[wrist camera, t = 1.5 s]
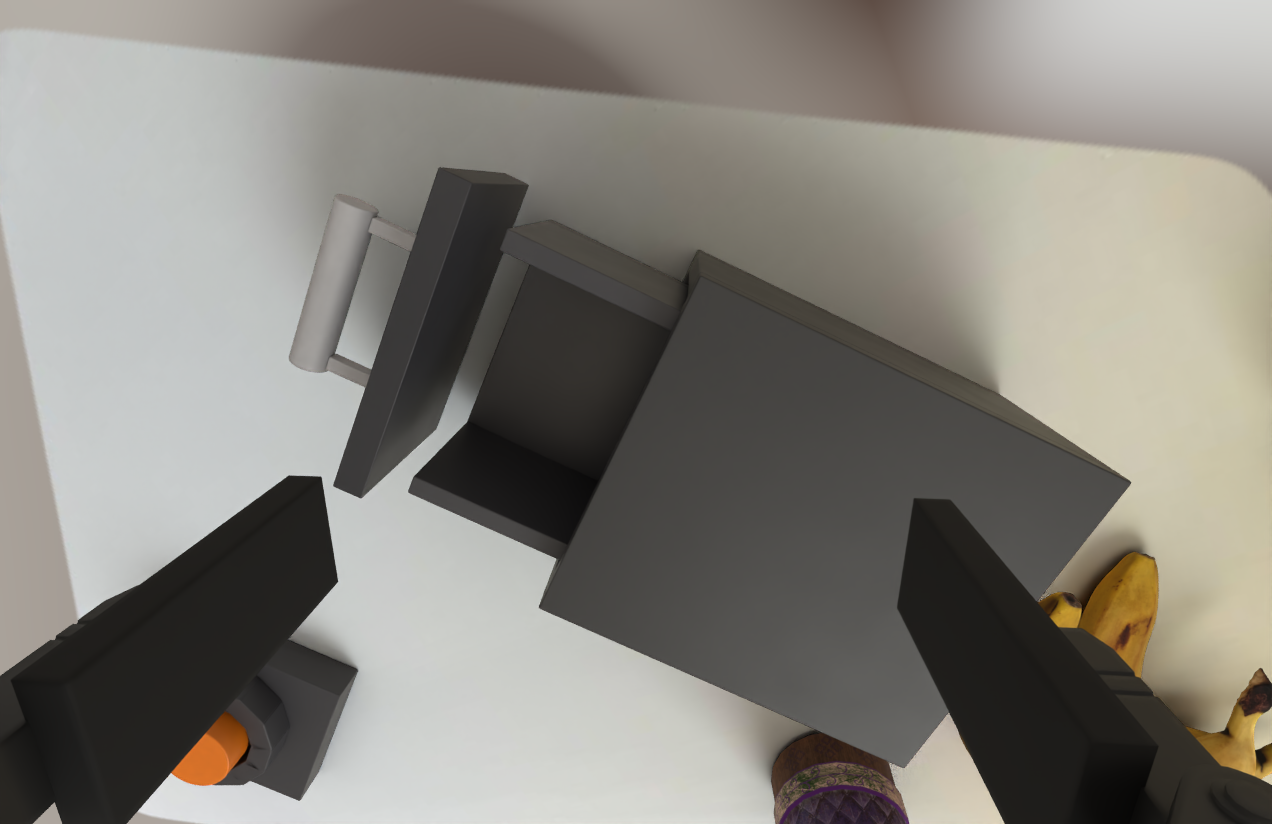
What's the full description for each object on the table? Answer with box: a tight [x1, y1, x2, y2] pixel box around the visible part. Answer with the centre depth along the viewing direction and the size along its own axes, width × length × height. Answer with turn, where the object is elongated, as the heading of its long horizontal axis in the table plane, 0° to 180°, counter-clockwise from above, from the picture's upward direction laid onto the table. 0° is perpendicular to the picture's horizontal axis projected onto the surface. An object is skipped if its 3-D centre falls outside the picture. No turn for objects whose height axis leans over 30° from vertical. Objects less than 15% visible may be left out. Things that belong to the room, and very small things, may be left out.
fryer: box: [539, 250, 1131, 768], centre depth 29 cm, size 16×14×10 cm
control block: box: [213, 640, 358, 801], centre depth 39 cm, size 11×9×4 cm
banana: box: [958, 552, 1272, 779], centre depth 33 cm, size 15×19×6 cm
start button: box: [171, 712, 249, 786], centre depth 37 cm, size 4×4×2 cm
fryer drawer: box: [289, 167, 689, 560], centre depth 28 cm, size 19×13×8 cm
